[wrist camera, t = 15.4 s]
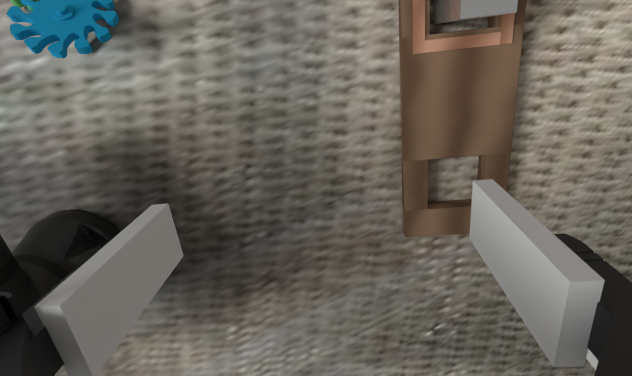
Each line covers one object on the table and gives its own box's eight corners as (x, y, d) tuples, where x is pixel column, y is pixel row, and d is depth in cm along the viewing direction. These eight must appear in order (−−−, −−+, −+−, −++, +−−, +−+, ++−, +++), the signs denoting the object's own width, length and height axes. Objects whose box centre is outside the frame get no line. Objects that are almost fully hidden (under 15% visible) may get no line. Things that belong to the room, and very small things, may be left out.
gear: (134, -2, 37) (69, 63, 33) (150, 40, 43) (95, 100, 39) (42, -46, 38) (-33, 13, 34) (70, 1, 43) (8, 57, 39)
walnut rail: (402, 229, 47) (405, 237, 45) (397, -75, 35) (400, -82, 33) (496, 223, 46) (503, 231, 44) (525, -94, 34) (537, -103, 32)
